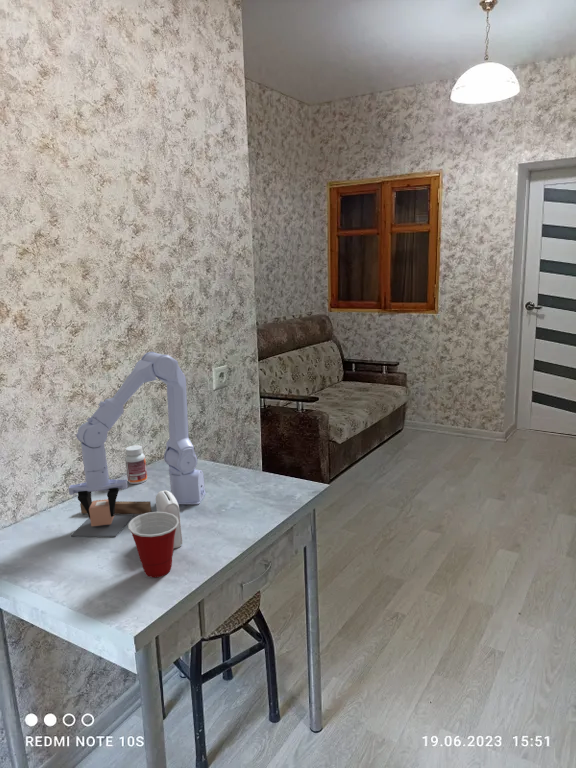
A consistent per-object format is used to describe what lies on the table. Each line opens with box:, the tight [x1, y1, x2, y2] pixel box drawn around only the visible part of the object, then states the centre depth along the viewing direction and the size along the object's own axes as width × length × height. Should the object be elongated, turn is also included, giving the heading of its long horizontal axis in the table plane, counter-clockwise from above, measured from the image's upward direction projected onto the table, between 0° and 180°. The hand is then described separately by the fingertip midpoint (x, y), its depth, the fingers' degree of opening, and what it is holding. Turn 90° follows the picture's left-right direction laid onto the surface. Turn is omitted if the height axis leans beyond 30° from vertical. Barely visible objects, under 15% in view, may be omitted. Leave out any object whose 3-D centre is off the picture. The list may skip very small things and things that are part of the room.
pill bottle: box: [124, 444, 148, 485], centre depth 173 cm, size 6×6×11 cm
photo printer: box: [155, 489, 183, 549], centre depth 133 cm, size 10×4×12 cm, turn 26°
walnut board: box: [79, 500, 152, 515], centre depth 151 cm, size 20×2×3 cm, turn 83°
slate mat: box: [70, 514, 135, 538], centre depth 143 cm, size 12×12×1 cm
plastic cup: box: [127, 511, 179, 578], centre depth 119 cm, size 11×11×12 cm
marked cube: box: [89, 498, 114, 526], centre depth 143 cm, size 5×5×5 cm
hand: (102, 516), depth 143 cm, fingers closed on marked cube, 5 cm apart
